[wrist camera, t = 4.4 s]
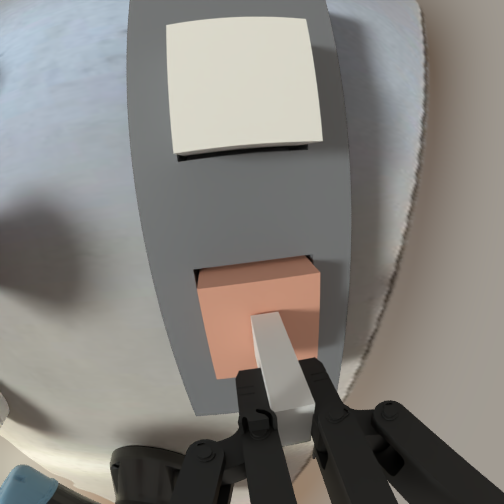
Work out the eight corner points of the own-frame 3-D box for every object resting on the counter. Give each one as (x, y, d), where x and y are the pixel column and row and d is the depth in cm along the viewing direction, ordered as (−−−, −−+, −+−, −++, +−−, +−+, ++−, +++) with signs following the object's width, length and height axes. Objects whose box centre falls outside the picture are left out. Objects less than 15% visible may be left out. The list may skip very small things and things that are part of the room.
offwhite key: (297, 145, 15) (322, 141, 11) (184, 156, 14) (173, 153, 10) (286, 47, 13) (306, 19, 9) (177, 54, 12) (166, 25, 8)
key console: (319, 358, 25) (336, 393, 20) (197, 376, 24) (195, 416, 19) (298, 6, 15) (318, -24, 10) (146, 16, 14) (131, -15, 9)
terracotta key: (300, 329, 20) (317, 363, 16) (215, 342, 19) (216, 379, 16) (299, 249, 18) (320, 272, 14) (200, 261, 17) (196, 289, 14)
